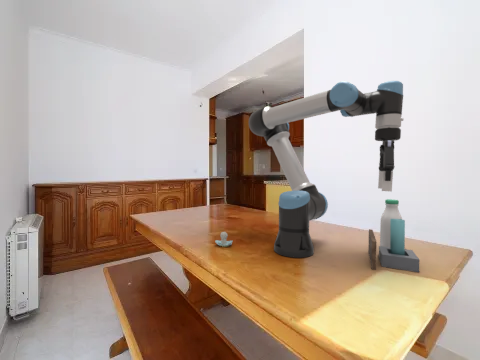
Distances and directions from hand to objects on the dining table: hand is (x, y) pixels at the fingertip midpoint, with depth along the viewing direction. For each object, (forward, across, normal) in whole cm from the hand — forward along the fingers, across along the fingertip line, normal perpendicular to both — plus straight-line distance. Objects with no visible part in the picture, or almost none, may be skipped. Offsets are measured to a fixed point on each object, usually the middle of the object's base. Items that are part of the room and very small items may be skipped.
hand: (384, 189), depth 81 cm
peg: (+24, -2, -5) cm, 24 cm away
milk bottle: (+25, +17, -5) cm, 31 cm away
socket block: (+25, -2, -5) cm, 25 cm away
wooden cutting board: (+25, -2, +3) cm, 25 cm away
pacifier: (+27, -11, +58) cm, 65 cm away
